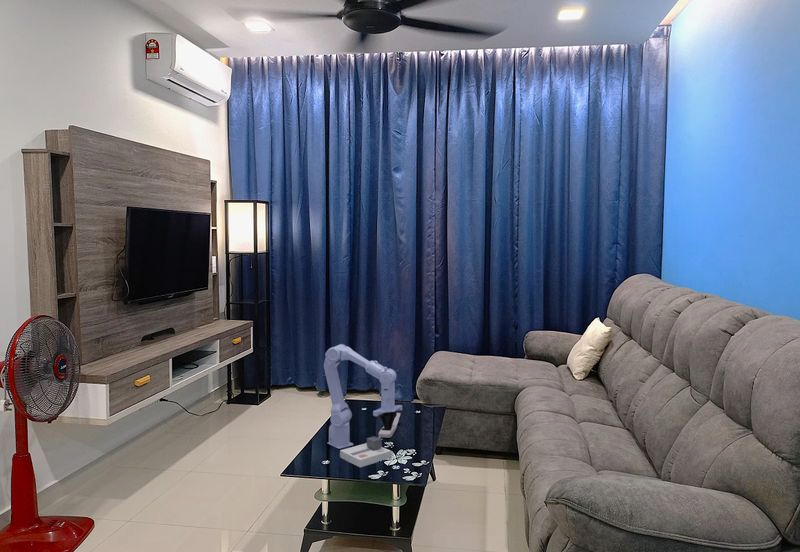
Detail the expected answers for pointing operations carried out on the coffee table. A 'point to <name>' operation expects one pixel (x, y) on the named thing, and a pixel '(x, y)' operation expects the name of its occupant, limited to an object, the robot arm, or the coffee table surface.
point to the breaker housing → (364, 455)
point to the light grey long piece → (389, 433)
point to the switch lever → (374, 442)
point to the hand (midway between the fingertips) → (387, 429)
